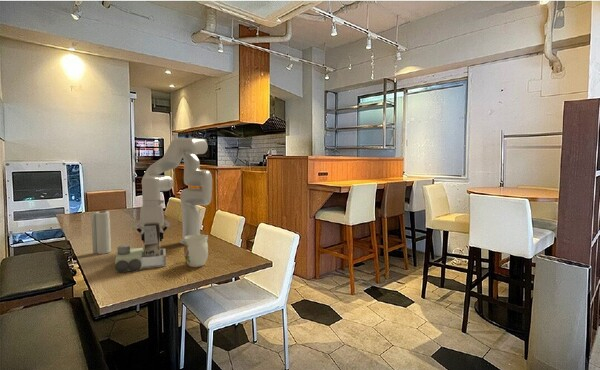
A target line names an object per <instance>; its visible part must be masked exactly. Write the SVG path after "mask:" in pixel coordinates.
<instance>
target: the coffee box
mask: <svg viewBox="0 0 600 370" xmlns="http://www.w3.org/2000/svg"><path fill="white" fill-rule="evenodd" d="M144 239H145V243H144V250H145V257H150V256H160V254H161V249H162V248H161V241H160V227H159V224H149V225H144Z"/></svg>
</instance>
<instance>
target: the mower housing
mask: <svg viewBox="0 0 600 370" xmlns="http://www.w3.org/2000/svg"><path fill="white" fill-rule="evenodd" d="M143 250H144V247H137V248H135V247H134V248H131V246H130V245H125V244H124V245H120V246H117V254H116V256H115V266H114V269H115V273H119V274H123V273H126V272H138V271H139V270H140V271H141V270H143V269H142V263H141V257H143Z"/></svg>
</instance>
